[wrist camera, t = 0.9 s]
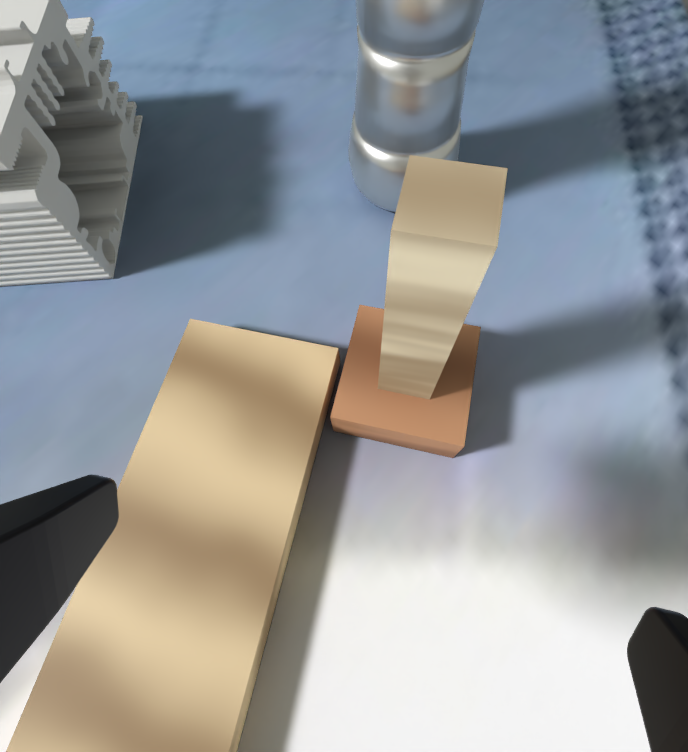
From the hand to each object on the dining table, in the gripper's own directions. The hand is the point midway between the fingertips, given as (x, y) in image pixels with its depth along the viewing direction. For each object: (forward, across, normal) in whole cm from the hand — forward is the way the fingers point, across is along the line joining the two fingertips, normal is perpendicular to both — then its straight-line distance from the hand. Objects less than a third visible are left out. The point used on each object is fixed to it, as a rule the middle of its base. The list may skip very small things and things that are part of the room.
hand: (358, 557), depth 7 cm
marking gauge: (+15, -1, +3) cm, 15 cm away
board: (+8, +7, +10) cm, 15 cm away
